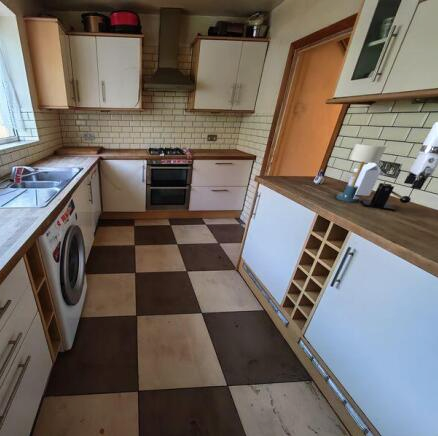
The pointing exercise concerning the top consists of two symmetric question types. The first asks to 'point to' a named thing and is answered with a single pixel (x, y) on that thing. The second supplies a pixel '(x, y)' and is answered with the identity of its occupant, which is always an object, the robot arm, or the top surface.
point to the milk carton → (367, 179)
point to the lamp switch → (402, 197)
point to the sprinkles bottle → (353, 176)
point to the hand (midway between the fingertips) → (411, 186)
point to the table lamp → (362, 154)
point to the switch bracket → (380, 198)
